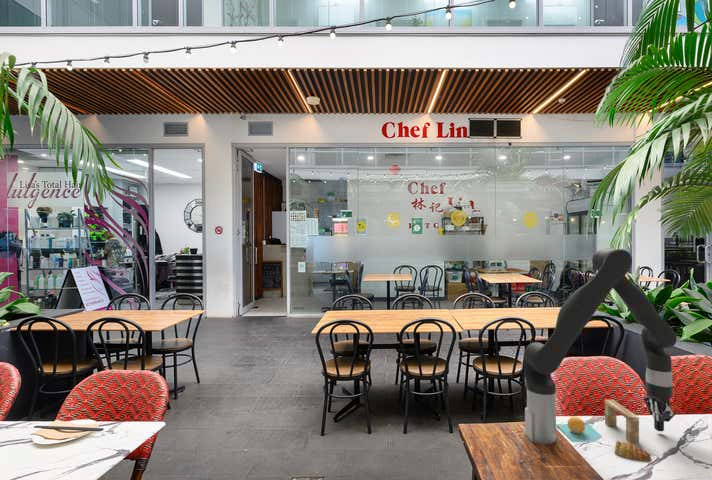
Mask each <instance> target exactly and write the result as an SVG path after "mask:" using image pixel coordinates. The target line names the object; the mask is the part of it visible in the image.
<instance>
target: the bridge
mask: <svg viewBox="0 0 712 480" xmlns="http://www.w3.org/2000/svg"><path fill="white" fill-rule="evenodd" d="M617 413H619V414H620V415H621V416H622V417H623V418H625V440H626V441H627V443H628V444H629V443H631V444H639V443H640V417H639V416H637V415H636V414H634V413H633V412H632V411H630V410H629V409H627V408H626V407H624V406H623V405H622V404H621V403H619V402H617V401H616V400H614V399H604V424H605V425H606V426H607V427H617V425H618V424H617V423H618V422H617V421H618V420H617V419H618V418H617V416H618V415H617Z"/></svg>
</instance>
